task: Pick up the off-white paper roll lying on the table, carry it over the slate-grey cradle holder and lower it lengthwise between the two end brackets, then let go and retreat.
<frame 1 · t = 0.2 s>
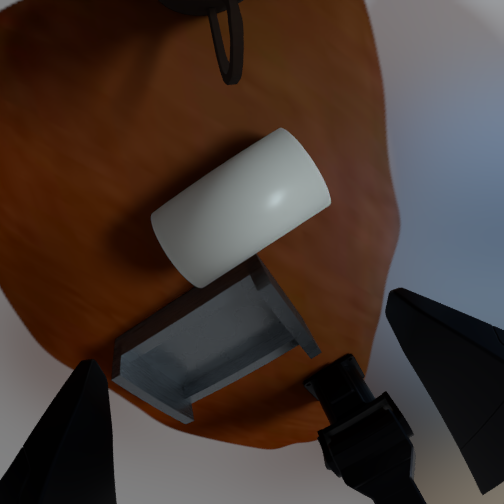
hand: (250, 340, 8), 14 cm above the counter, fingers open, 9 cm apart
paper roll: (231, 192, 21), on the counter
cradle holder: (210, 330, 26), on the counter
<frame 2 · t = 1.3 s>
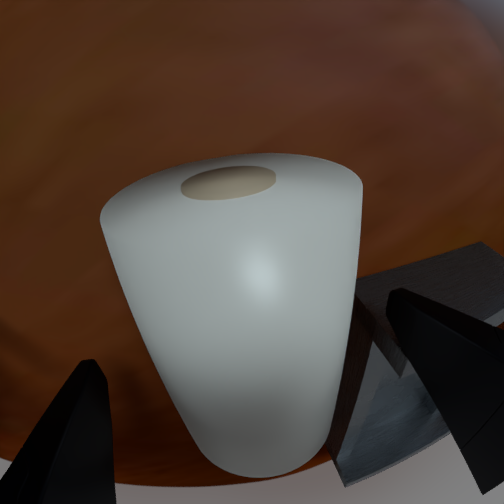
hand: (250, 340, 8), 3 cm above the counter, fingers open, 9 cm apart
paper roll: (230, 284, 11), on the counter
cradle holder: (398, 358, 16), on the counter
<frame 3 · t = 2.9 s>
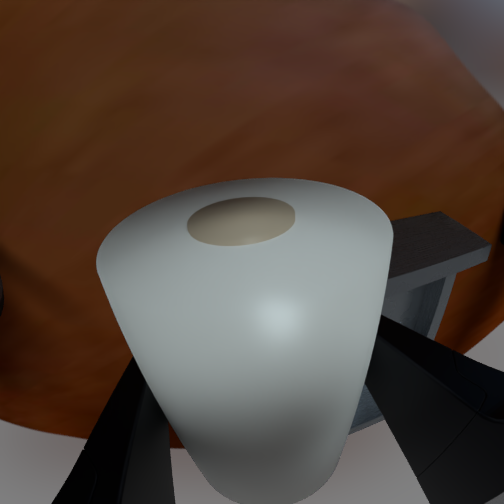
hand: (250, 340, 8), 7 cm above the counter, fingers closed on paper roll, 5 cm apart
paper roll: (224, 317, 10), point 5 cm above the counter, tilted 10°, touching gripper
cradle holder: (371, 317, 20), on the counter
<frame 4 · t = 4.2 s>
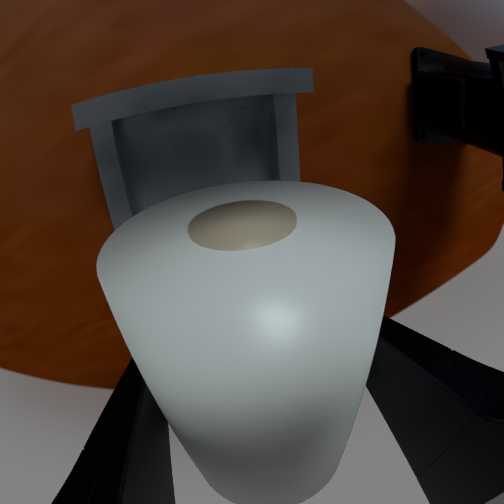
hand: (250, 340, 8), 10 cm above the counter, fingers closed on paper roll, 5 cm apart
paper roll: (225, 320, 10), point 8 cm above the counter, tilted 10°, touching gripper
cradle holder: (205, 210, 17), on the counter
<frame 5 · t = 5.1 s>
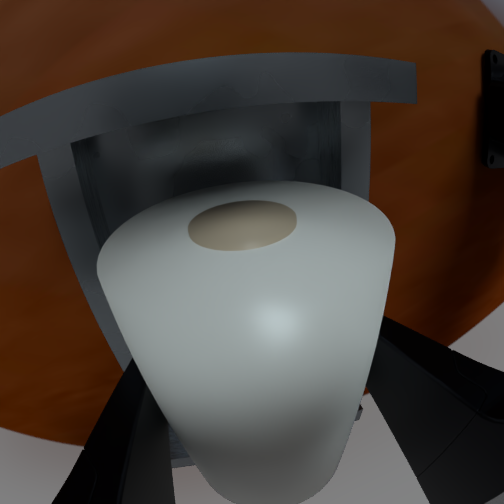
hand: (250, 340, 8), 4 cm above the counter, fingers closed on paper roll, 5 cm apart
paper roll: (225, 320, 10), point 2 cm above the counter, tilted 10°, touching gripper
cradle holder: (223, 265, 12), on the counter
when the fingers open (4 cm above the counter, at t = 5.7 s): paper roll stays where it is, resting on cradle holder.
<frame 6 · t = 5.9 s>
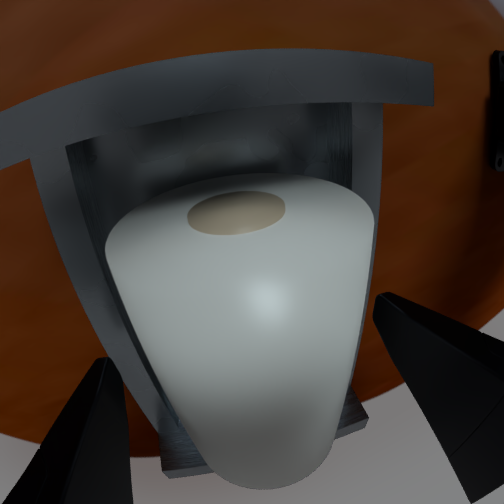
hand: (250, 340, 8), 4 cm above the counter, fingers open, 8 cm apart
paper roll: (221, 305, 11), point 1 cm above the counter, tilted 11°, touching cradle holder
cradle holder: (226, 272, 12), on the counter
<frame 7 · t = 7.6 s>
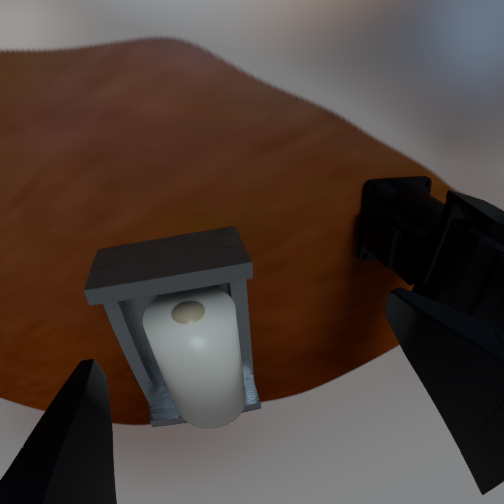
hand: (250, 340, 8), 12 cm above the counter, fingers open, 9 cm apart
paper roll: (180, 340, 22), point 1 cm above the counter, tilted 25°, touching cradle holder
cradle holder: (183, 321, 23), on the counter
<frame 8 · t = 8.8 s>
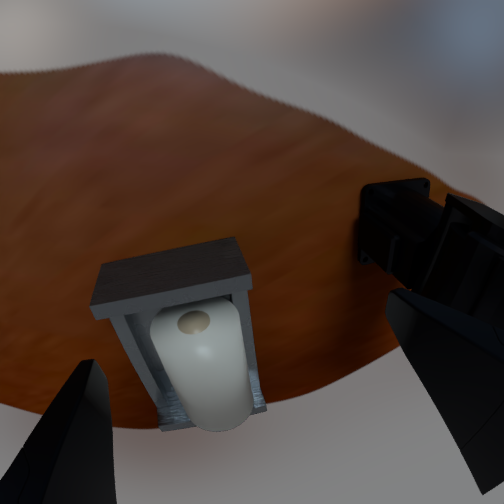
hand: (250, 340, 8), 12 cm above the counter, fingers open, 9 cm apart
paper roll: (186, 348, 22), point 1 cm above the counter, tilted 28°, touching cradle holder
cradle holder: (188, 329, 23), on the counter
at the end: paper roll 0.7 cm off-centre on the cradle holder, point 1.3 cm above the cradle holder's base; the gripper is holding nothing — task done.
